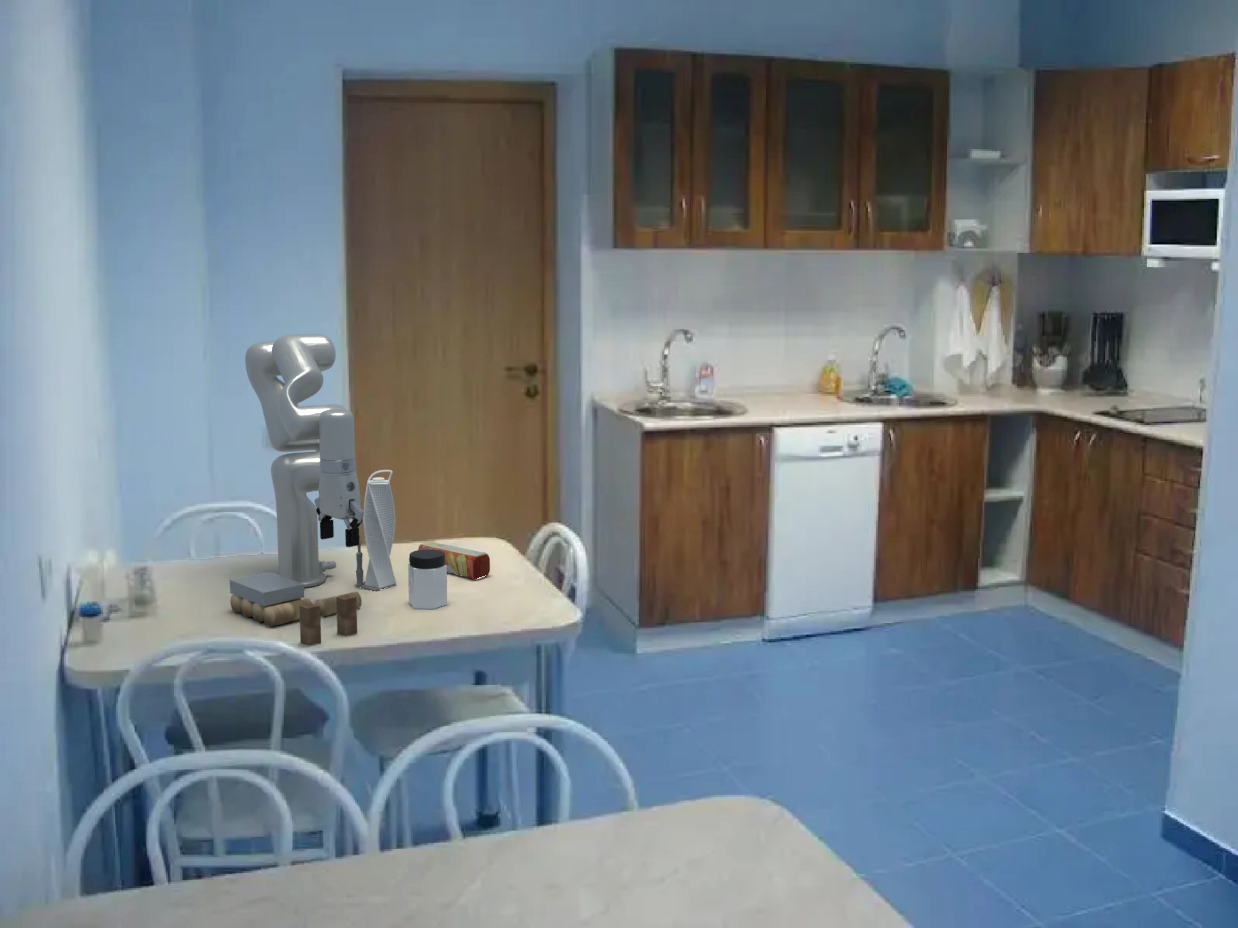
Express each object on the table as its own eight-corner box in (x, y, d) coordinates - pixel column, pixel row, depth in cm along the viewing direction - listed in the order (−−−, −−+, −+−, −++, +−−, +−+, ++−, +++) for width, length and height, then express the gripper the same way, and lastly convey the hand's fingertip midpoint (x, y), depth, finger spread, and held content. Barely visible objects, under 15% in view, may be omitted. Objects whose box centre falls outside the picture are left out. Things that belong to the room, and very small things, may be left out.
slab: (269, 584, 290) (269, 571, 289) (304, 597, 280) (303, 584, 280) (230, 592, 282) (229, 579, 282) (264, 606, 273) (263, 592, 272)
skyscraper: (380, 579, 311) (378, 467, 305) (403, 584, 306) (402, 471, 301) (354, 586, 304) (351, 472, 299) (378, 592, 299) (376, 476, 294)
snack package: (415, 567, 323) (414, 541, 322) (434, 562, 328) (434, 536, 327) (472, 582, 310) (472, 555, 308) (492, 577, 315) (492, 551, 313)
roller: (356, 610, 288) (349, 596, 289) (363, 603, 286) (357, 588, 287) (318, 620, 281) (312, 605, 282) (326, 612, 278) (319, 597, 280)
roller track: (270, 601, 290) (269, 584, 290) (313, 618, 278) (313, 600, 278) (230, 610, 283) (230, 592, 282) (273, 628, 271) (273, 609, 271)
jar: (405, 600, 293) (404, 550, 291) (439, 597, 296) (438, 547, 294) (415, 611, 285) (415, 560, 283) (450, 607, 288) (450, 556, 286)
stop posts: (349, 630, 271) (348, 594, 270) (357, 633, 269) (356, 597, 268) (300, 642, 263) (299, 605, 261) (308, 645, 261) (307, 608, 259)
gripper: (375, 469, 274) (376, 546, 277) (329, 459, 286) (331, 532, 289) (346, 473, 269) (348, 552, 272) (300, 463, 280) (303, 538, 283)
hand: (339, 542), depth 280 cm, fingers open, 9 cm apart
